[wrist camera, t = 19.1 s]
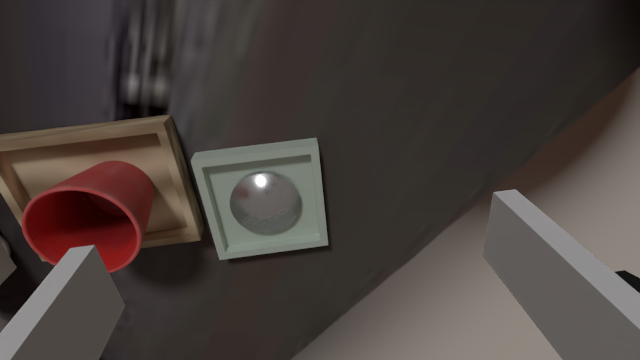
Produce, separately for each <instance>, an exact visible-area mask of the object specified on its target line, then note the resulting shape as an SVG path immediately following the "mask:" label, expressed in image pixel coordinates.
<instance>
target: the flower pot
mask: <svg viewBox="0 0 640 360" xmlns="http://www.w3.org/2000/svg"><path fill="white" fill-rule="evenodd" d="M153 198H154V189H153V185H152V183H151V181H150V179H149V178H148V176H147V175H146V174H145V173H144V172H143V171H142V170H141V169H139V168H138V167H136V166H134V165H132V164H130V163H127V162H123V161H115V160H113V161H105V162H102V163H99V164H97V165H95V166H93V167H91V168H89V169H87V170H85V171H82V172H80V173H78V174H76V175H74V176H72V177H70V178H68V179H66V180H64V181H62V182H60V183H58V184H56V185H54V186H52V187H51V188H49V189H47V190H45V191H43V192H42V193H40V194H39V195H37V196H36V197H34V198H33V199H32V200H31V201H30V202H29V203H28V205H27V206H26V208H25V210H24V213H23V216H22V231H23V234H24V236H25V238H26V240H27V242H28V243H29V245H30V246H31V247H32V249H33V250H34V251H35V252H36V253H37V254H38V255H40V256H41V257H42V258H43V259H45V260H46V261H48V262H49V263H51V264H53V265H55V266H56V265H57V264H58V262H59V261H60V260H61V259H62V258H63V256H64V255H65V254H66V253H67V251H68V250H69V249H70V248H75V247H82V246H90V245H95V246H96V248H97V250H98V252H99V254H100V256H101V258H102V260H103V262H104V264H105V266H106V268H107V270H108V272H109V273H112V272H115V271H118V270H120V269H122V268H124V267H126V266H127V265H129V264H130V263H131V262H132V261H133V260H134V259H135V258H136V256H137V255H138V253H139V251H140V248H141V246H142V243H143V239H144V236H145V232H146V229H147V225H148V221H149V217H150V213H151V208H152V203H153Z"/></svg>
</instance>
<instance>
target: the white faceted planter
mask: <svg viewBox="0 0 640 360" xmlns="http://www.w3.org/2000/svg"><path fill="white" fill-rule="evenodd" d="M10 256H11V250H10V247H9V245H8V243H7V242H6V240H5V239H4V238H3V237H2V236H1V235H0V285H1V284H2V283H3V282H4V281H5V280H6V278H7V277H8V276H9V275H10V274H11V273H12V272H13V271H14V270H15V269H16V268H17V267H16V265H15V264H14V262H13V261H12V259H11V258H10Z"/></svg>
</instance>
